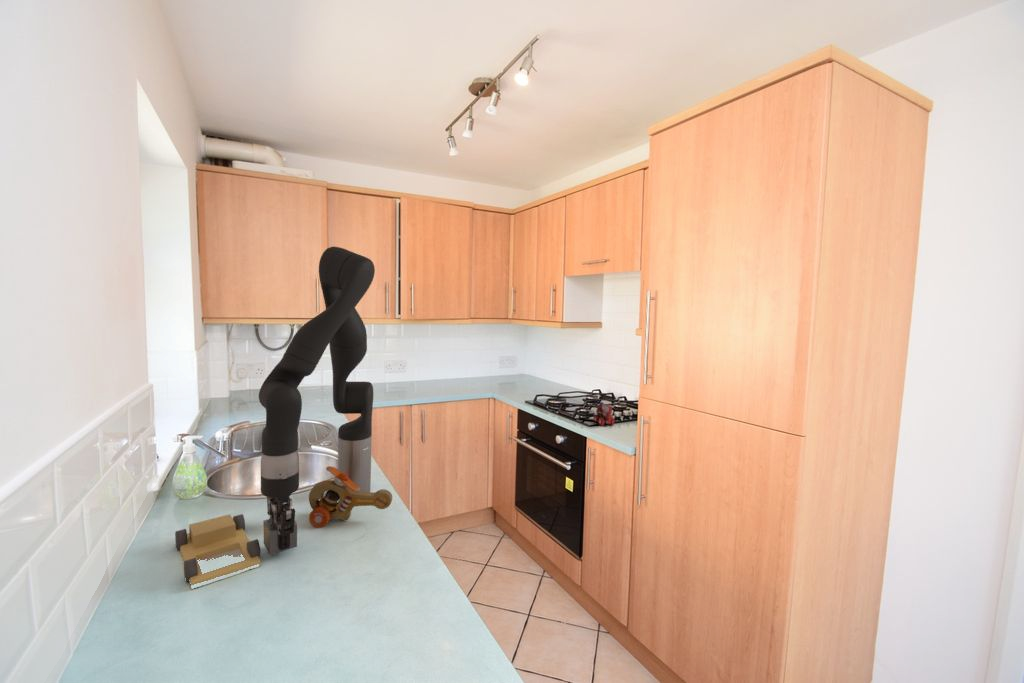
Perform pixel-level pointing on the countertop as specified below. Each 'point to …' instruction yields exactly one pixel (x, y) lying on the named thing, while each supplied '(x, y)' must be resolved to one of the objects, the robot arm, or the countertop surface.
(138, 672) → the countertop surface
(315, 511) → the toy helicopter
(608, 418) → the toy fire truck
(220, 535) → the chassis
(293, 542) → the block
